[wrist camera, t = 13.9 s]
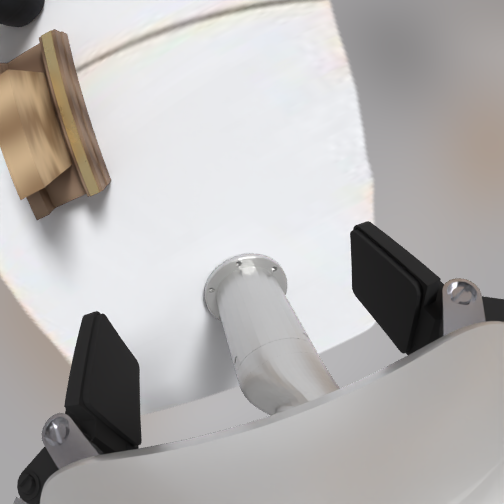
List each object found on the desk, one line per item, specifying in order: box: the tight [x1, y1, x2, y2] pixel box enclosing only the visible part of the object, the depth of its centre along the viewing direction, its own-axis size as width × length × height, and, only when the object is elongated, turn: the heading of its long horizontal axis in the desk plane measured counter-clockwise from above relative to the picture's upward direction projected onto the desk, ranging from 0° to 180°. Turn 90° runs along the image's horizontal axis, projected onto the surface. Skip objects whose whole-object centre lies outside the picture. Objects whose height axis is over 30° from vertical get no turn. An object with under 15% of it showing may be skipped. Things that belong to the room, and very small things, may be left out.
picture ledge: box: [0, 29, 111, 220], centre depth 26 cm, size 20×10×4 cm, turn 13°
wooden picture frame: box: [0, 70, 72, 200], centre depth 22 cm, size 12×3×9 cm, turn 13°
